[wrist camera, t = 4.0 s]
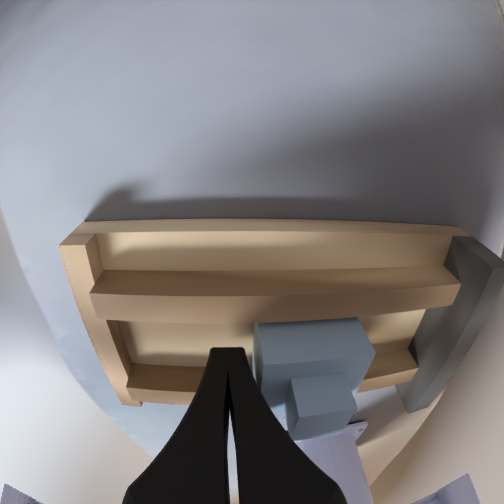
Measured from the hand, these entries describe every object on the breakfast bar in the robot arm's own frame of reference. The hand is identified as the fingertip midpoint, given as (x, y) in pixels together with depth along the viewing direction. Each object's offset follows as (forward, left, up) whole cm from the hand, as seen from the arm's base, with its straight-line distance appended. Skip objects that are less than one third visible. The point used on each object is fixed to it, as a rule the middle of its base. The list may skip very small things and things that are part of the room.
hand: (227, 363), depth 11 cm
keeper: (0, -3, -1) cm, 3 cm away
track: (0, -3, -3) cm, 4 cm away
